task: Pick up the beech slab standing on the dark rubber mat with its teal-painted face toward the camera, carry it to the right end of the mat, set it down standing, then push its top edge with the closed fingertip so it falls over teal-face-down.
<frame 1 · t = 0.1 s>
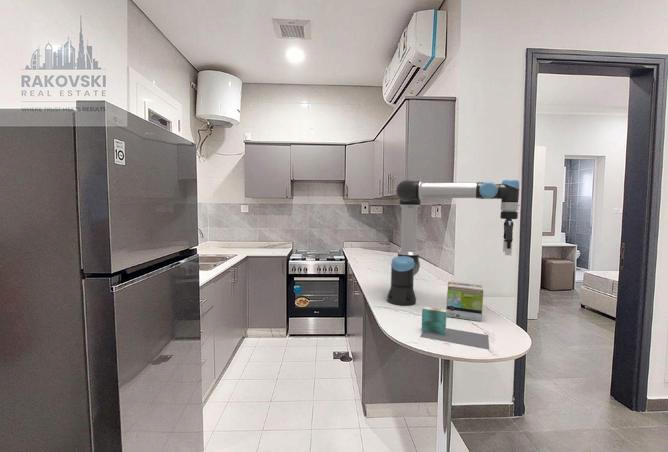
hand: (506, 253, 159), 28 cm above the countertop, fingers open, 13 cm apart
tile: (433, 331, 128), point 1 cm above the countertop, touching mat
mat: (454, 337, 124), on the countertop
tea box: (463, 316, 148), on the countertop
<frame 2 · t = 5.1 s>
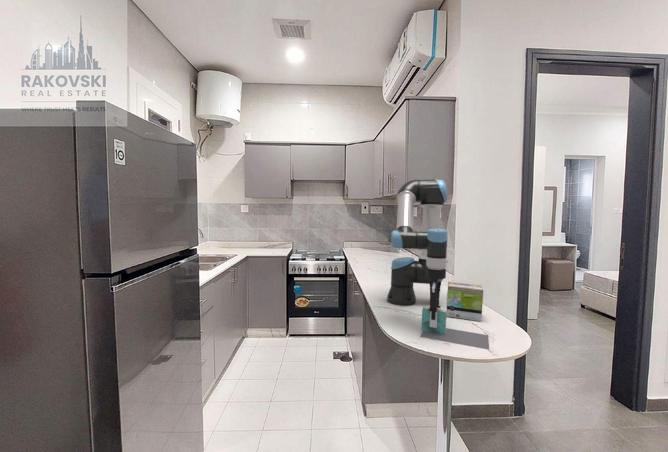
hand: (433, 325, 128), 3 cm above the countertop, fingers closed on tile, 3 cm apart
tile: (433, 331, 128), point 1 cm above the countertop, touching gripper, mat
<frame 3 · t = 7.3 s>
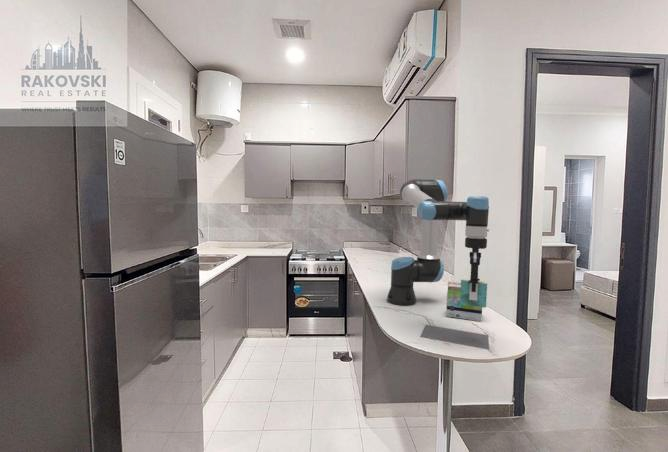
hand: (473, 298, 121), 16 cm above the countertop, fingers closed on tile, 3 cm apart
tile: (472, 304, 121), point 14 cm above the countertop, touching gripper
when the fingers open (3 cm above the countertop, at t = 9.6 s): tile stays where it is, resting on mat.
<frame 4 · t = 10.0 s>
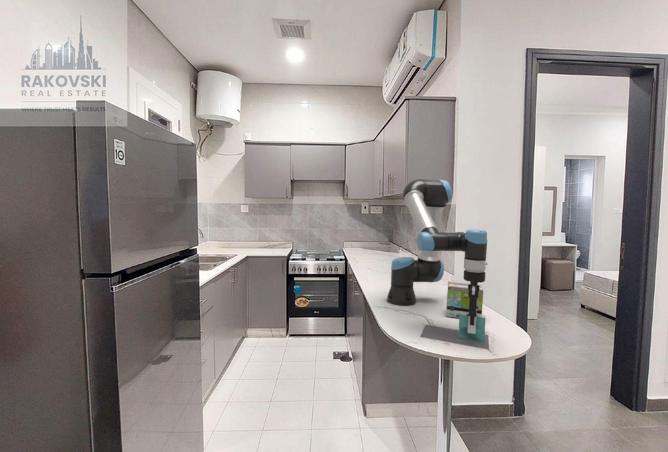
hand: (471, 328, 122), 4 cm above the countertop, fingers open, 8 cm apart
tile: (471, 337, 122), point 1 cm above the countertop, touching mat
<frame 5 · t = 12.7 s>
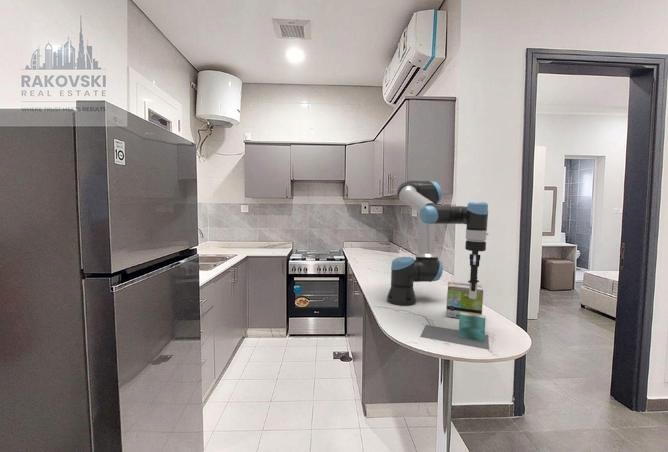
hand: (472, 298, 129), 14 cm above the countertop, fingers closed
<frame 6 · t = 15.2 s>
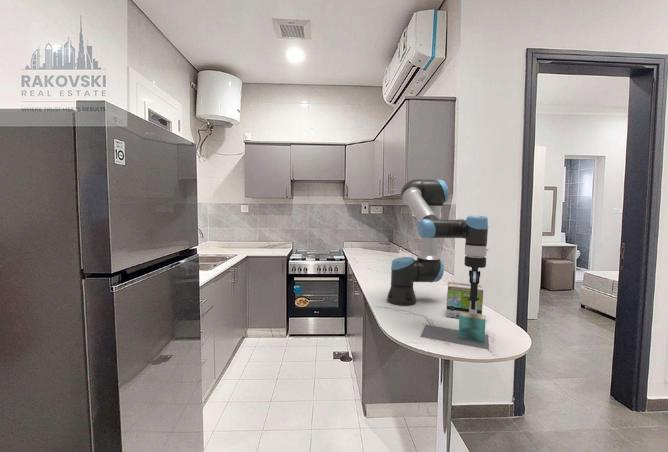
hand: (472, 316, 122), 9 cm above the countertop, fingers closed
tile: (471, 337, 122), point 1 cm above the countertop, tilted 10°, touching gripper, mat
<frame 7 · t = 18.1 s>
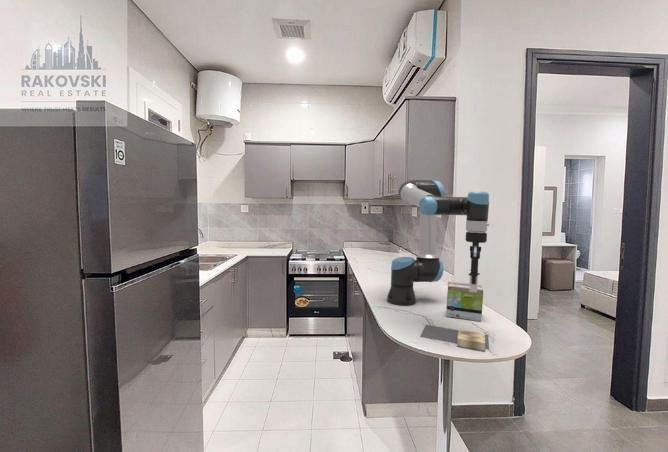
hand: (473, 291, 124), 18 cm above the countertop, fingers closed
tile: (471, 335, 121), point 2 cm above the countertop, tilted 90°, touching mat
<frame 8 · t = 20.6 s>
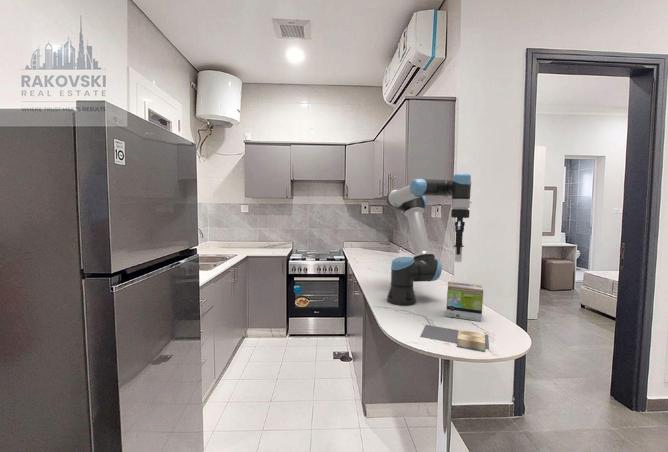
hand: (458, 261, 142), 26 cm above the countertop, fingers closed
at the end: tile tilted 90°; tile inside the target area (2.0 cm from its centre), point 2.1 cm above the countertop; the gripper is holding nothing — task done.
